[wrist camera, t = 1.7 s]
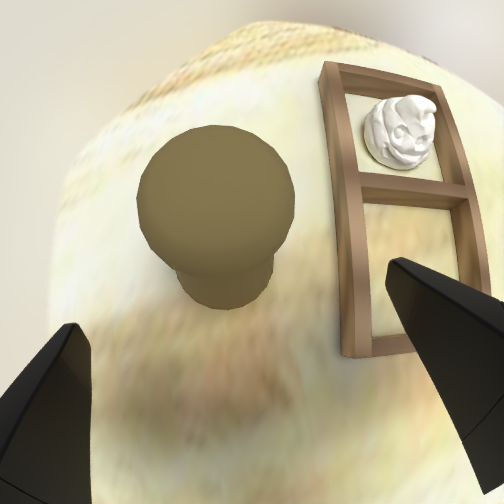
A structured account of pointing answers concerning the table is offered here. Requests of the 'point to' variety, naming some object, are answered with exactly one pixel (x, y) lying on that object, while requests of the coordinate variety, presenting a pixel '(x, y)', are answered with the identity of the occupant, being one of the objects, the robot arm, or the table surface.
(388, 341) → the crate
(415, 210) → the table surface
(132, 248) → the table surface
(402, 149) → the white lumpy round figurine
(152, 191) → the cork
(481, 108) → the table surface
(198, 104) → the table surface
